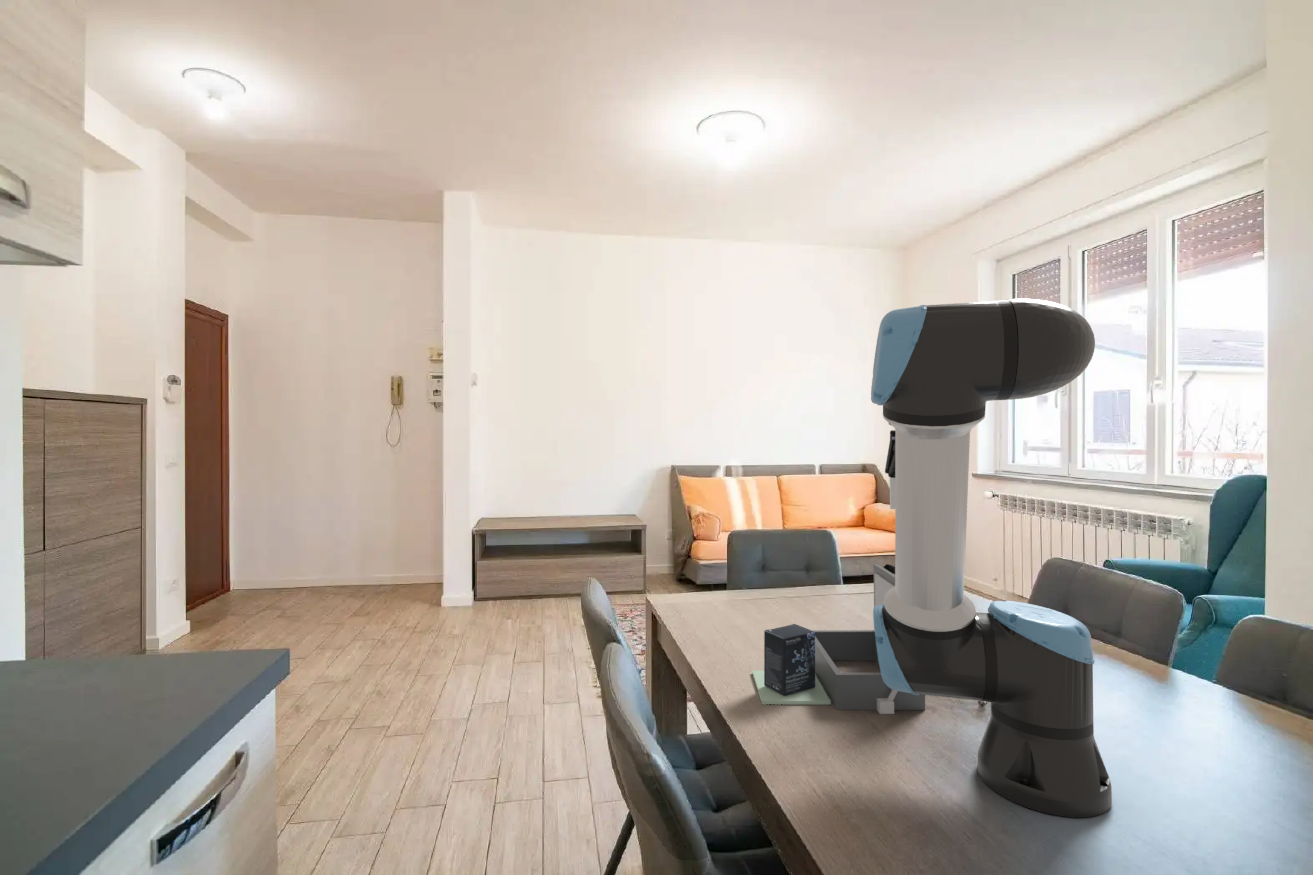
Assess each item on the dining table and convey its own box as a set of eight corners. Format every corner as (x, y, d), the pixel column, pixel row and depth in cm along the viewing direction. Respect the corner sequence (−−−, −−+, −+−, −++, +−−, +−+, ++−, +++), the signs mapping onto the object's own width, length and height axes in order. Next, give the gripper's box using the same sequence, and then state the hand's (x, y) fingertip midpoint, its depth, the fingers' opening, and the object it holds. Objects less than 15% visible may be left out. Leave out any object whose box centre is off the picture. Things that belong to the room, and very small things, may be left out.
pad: (830, 704, 106) (830, 701, 106) (762, 704, 106) (762, 700, 106) (813, 673, 120) (813, 670, 120) (752, 673, 120) (752, 670, 120)
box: (784, 697, 108) (783, 638, 108) (763, 686, 112) (762, 629, 112) (816, 687, 111) (815, 630, 111) (795, 677, 116) (794, 622, 116)
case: (934, 714, 102) (932, 595, 102) (839, 713, 102) (837, 595, 102) (882, 658, 127) (881, 563, 127) (807, 658, 128) (805, 564, 128)
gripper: (957, 401, 107) (959, 521, 106) (903, 408, 131) (904, 505, 131) (914, 401, 107) (916, 521, 107) (868, 408, 132) (870, 506, 132)
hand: (910, 513), depth 119 cm, fingers open, 13 cm apart
